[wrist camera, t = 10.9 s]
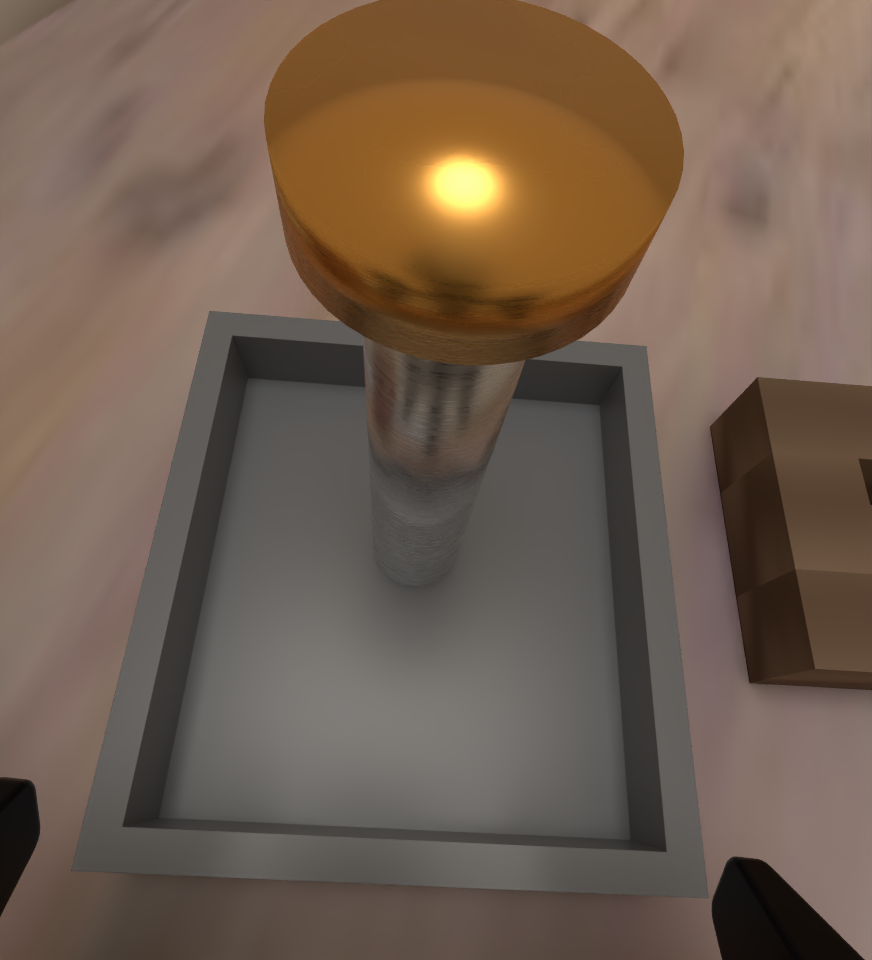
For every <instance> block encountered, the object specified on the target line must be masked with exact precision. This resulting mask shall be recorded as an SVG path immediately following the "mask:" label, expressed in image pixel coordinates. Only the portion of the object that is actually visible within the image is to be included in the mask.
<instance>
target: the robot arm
mask: <svg viewBox="0 0 872 960" xmlns="http://www.w3.org/2000/svg"><path fill="white" fill-rule="evenodd" d="M39 834H40V820H39V812H38V804H37V797H36V789H35V785H34V784H33V783H32V782H31V781H30V780H26V779H17V778H8V777H1V778H0V916H1V914H2V912H3V910H4V908H5V906H6V904H7V902H8V900H9V898H10V896H11V894H12V892H13V891H14V889H15V887H16V885H17V883H18V881H19V879H20V877H21V875H22V873H23V871H24V869H25V867H26V865H27V863H28V861H29V859H30V857H31V855H32V853H33V851H34V849H35V847H36V844H37V842H38V838H39ZM712 918H713V923H714V927H715V932H716V936H717V940H718V944H719V948H720V953H721V957H722V960H864V959H863V958H862V957H861V956H860V955H859V954H858V953H857V952H856V951H855V950H854V949H853V948H852V947H851V946H850V945H849V944H848V943H847V942H846V941H845V940H844V939H843V938H842V937H841V936H840V935H839V934H838V933H837V932H836V931H835V930H834V929H833V928H832V927H831V926H830V925H829V924H828V923H827V922H826V921H825V920H824V919H823V918H822V917H821V916H820V915H819V914H818V913H817V912H816V911H815V910H814V909H813V908H812V907H811V906H810V905H809V904H808V903H807V902H806V901H805V900H804V899H803V898H802V897H801V896H800V895H799V894H798V893H797V892H796V891H795V890H794V889H793V888H792V887H791V886H790V885H789V884H788V883H787V882H786V881H785V880H784V879H783V878H782V877H781V876H780V875H779V874H778V873H777V872H776V871H775V870H774V869H773V868H772V867H771V866H769V865H768V864H767V863H766V862H764V861H762V860H759V859H754V858H744V857H732V858H730V859H729V860H728V861H727V863H726V865H725V868H724V871H723V873H722V876H721V878H720V881H719V884H718V886H717V889H716V891H715V894H714V897H713V900H712Z"/></svg>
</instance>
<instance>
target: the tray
mask: <svg viewBox="0 0 872 960" xmlns="http://www.w3.org/2000/svg"><path fill="white" fill-rule="evenodd" d="M71 871H87V872H110V873H133V874H157V875H180V876H203V877H226V878H250V879H273V880H296V881H319V882H343V883H366V884H389V885H412V886H436V887H459V888H482V889H505V890H529V891H552V892H575V893H598V894H622V895H645V896H668V897H691V898H709V897H708V888H707V879H706V870H705V862H704V853H703V844H702V835H701V826H700V817H699V808H698V800H697V791H696V782H695V773H694V764H693V755H692V746H691V737H690V729H689V720H688V711H687V702H686V693H685V684H684V675H683V667H682V658H681V649H680V640H679V631H678V622H677V613H676V604H675V596H674V587H673V578H672V569H671V560H670V551H669V542H668V534H667V525H666V516H665V507H664V498H663V489H662V480H661V471H660V463H659V454H658V445H657V436H656V427H655V418H654V409H653V401H652V392H651V383H650V374H649V365H648V356H647V347H646V346H635V345H623V344H611V343H599V342H586V341H574V342H573V343H571V344H569V345H567V346H565V347H563V348H561V349H558V350H556V351H553V352H550V353H548V354H545V355H543V356H540V357H535V358H531V359H527V360H525V363H524V366H523V369H522V371H521V374H520V377H519V380H518V383H517V386H516V388H515V391H514V394H513V397H512V400H511V402H510V405H509V408H508V411H507V414H506V417H505V419H504V422H503V425H502V428H501V431H500V433H499V436H498V439H497V442H496V445H495V448H494V450H493V453H492V456H491V459H490V462H489V465H488V467H487V470H486V473H485V476H484V479H483V481H482V484H481V487H480V490H479V493H478V496H477V498H476V501H475V504H474V507H473V510H472V512H471V515H470V518H469V521H468V524H467V527H466V529H465V532H464V535H463V538H462V541H461V544H460V546H459V549H458V552H457V555H456V558H455V560H454V563H453V565H452V567H451V569H450V570H449V572H448V573H447V574H446V575H445V576H444V577H443V578H441V579H440V580H439V581H437V582H435V583H433V584H431V585H428V586H424V587H407V586H403V585H400V584H398V583H396V582H394V581H392V580H391V579H389V578H388V577H387V576H386V575H385V574H384V573H383V572H382V571H381V569H380V568H379V566H378V564H377V562H376V559H375V556H374V547H373V527H372V508H371V488H370V468H369V449H368V429H367V409H366V390H365V370H364V350H363V335H361V334H359V333H358V332H356V331H355V330H353V329H351V328H350V327H348V326H347V325H345V324H344V323H343V322H340V321H328V320H315V319H303V318H291V317H278V316H266V315H254V314H241V313H229V312H217V311H209V315H208V319H207V323H206V327H205V331H204V335H203V339H202V343H201V347H200V351H199V355H198V359H197V364H196V368H195V372H194V376H193V380H192V384H191V388H190V392H189V396H188V400H187V404H186V408H185V412H184V416H183V420H182V424H181V428H180V432H179V436H178V440H177V445H176V449H175V453H174V457H173V461H172V465H171V469H170V473H169V477H168V481H167V485H166V489H165V493H164V497H163V501H162V505H161V509H160V513H159V517H158V521H157V525H156V530H155V534H154V538H153V542H152V546H151V550H150V554H149V558H148V562H147V566H146V570H145V574H144V578H143V582H142V586H141V590H140V594H139V598H138V602H137V606H136V610H135V615H134V619H133V623H132V627H131V631H130V635H129V639H128V643H127V647H126V651H125V655H124V659H123V663H122V667H121V671H120V675H119V679H118V683H117V687H116V691H115V695H114V700H113V704H112V708H111V712H110V716H109V720H108V724H107V728H106V732H105V736H104V740H103V744H102V748H101V752H100V756H99V760H98V764H97V768H96V772H95V776H94V780H93V785H92V789H91V793H90V797H89V801H88V805H87V809H86V813H85V817H84V821H83V825H82V829H81V833H80V837H79V841H78V845H77V849H76V853H75V857H74V861H73V865H72V870H71Z"/></svg>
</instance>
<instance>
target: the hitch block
mask: <svg viewBox="0 0 872 960" xmlns="http://www.w3.org/2000/svg"><path fill="white" fill-rule="evenodd" d="M710 427H711V433H712V440H713V446H714V453H715V459H716V466H717V472H718V479H719V485H720V492H721V498H722V505H723V511H724V518H725V524H726V531H727V537H728V544H729V550H730V556H731V563H732V569H733V576H734V582H735V589H736V595H737V602H738V608H739V615H740V621H741V628H742V634H743V641H744V647H745V654H746V660H747V667H748V673H749V679H750V683H762V684H779V685H796V686H813V687H830V688H848V689H865V690H872V509H871V505H870V504H872V386H861V385H848V384H836V383H823V382H811V381H798V380H786V379H773V378H761V377H757V378H756V379H755V380H754V382H753V383H752V384H751V385H750V386H749V387H748V388H747V389H746V390H745V391H744V392H743V393H742V394H741V395H740V396H739V397H738V398H737V399H736V400H735V401H734V402H733V403H732V404H731V405H730V406H729V408H728V409H727V410H726V411H725V412H724V413H723V414H722V415H721V416H720V417H719V418H718V419H717V420H716V421H715V422H714V423H713V424H712V425H711V426H710Z"/></svg>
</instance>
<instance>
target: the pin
mask: <svg viewBox="0 0 872 960" xmlns="http://www.w3.org/2000/svg"><path fill="white" fill-rule="evenodd" d="M264 125H265V133H266V141H267V146H268V152H269V157H270V162H271V167H272V172H273V178H274V183H275V188H276V193H277V199H278V204H279V209H280V214H281V220H282V225H283V230H284V235H285V241H286V244H287V247H288V251H289V254H290V257H291V260H292V262H293V264H294V266H295V268H296V270H297V272H298V274H299V276H300V278H301V279H302V280H303V282H304V283H305V285H306V286H307V288H308V289H309V290H310V292H311V293H312V295H313V296H314V297H315V298H316V299H317V300H318V301H319V302H320V303H321V304H322V305H323V306H324V307H325V308H326V309H327V310H328V311H329V312H330V313H331V314H333V315H334V316H335V317H336V318H338V319H339V320H340V321H341V322H343V323H344V324H345V325H347V326H348V327H350V328H351V329H353V330H355V331H356V332H358V333H359V334H361V335H363V350H364V370H365V390H366V409H367V429H368V449H369V468H370V488H371V508H372V527H373V547H374V556H375V559H376V562H377V564H378V566H379V568H380V569H381V571H382V572H383V573H384V574H385V575H386V576H387V577H388V578H389V579H391V580H392V581H394V582H396V583H398V584H400V585H403V586H407V587H424V586H428V585H431V584H433V583H435V582H437V581H439V580H440V579H441V578H443V577H444V576H445V575H446V574H447V573H448V572H449V570H450V569H451V567H452V565H453V563H454V560H455V558H456V555H457V552H458V549H459V546H460V544H461V541H462V538H463V535H464V532H465V529H466V527H467V524H468V521H469V518H470V515H471V512H472V510H473V507H474V504H475V501H476V498H477V496H478V493H479V490H480V487H481V484H482V481H483V479H484V476H485V473H486V470H487V467H488V465H489V462H490V459H491V456H492V453H493V450H494V448H495V445H496V442H497V439H498V436H499V433H500V431H501V428H502V425H503V422H504V419H505V417H506V414H507V411H508V408H509V405H510V402H511V400H512V397H513V394H514V391H515V388H516V386H517V383H518V380H519V377H520V374H521V371H522V369H523V366H524V363H525V360H527V359H531V358H535V357H540V356H543V355H545V354H548V353H550V352H553V351H556V350H558V349H561V348H563V347H565V346H567V345H569V344H571V343H573V342H574V341H576V340H578V339H580V338H582V337H583V336H585V335H586V334H587V333H589V332H590V331H591V330H593V329H594V328H595V327H597V326H598V325H599V324H600V323H601V322H602V321H603V320H604V319H605V318H606V317H607V316H608V315H609V314H610V313H611V312H612V311H613V310H614V308H615V307H616V306H617V304H618V303H619V301H620V300H621V299H622V297H623V296H624V294H625V292H626V290H627V288H628V286H629V284H630V282H631V280H632V278H633V276H634V274H635V273H636V271H637V269H638V267H639V265H640V263H641V261H642V259H643V257H644V255H645V253H646V251H647V249H648V247H649V245H650V244H651V242H652V240H653V238H654V236H655V234H656V232H657V230H658V228H659V226H660V224H661V222H662V220H663V218H664V216H665V214H666V213H667V211H668V209H669V207H670V205H671V203H672V200H673V198H674V196H675V194H676V192H677V190H678V187H679V183H680V179H681V175H682V171H683V158H684V149H683V142H682V134H681V130H680V127H679V124H678V121H677V118H676V115H675V113H674V111H673V109H672V107H671V105H670V103H669V101H668V99H667V97H666V96H665V94H664V93H663V91H662V90H661V88H660V87H659V85H658V84H657V83H656V81H655V80H654V79H653V78H652V77H651V75H650V74H649V73H648V72H647V71H646V70H645V69H644V68H643V67H642V65H641V64H639V63H638V62H637V61H636V60H635V59H634V58H633V57H631V56H630V55H629V54H628V53H627V52H626V51H625V50H623V49H622V48H620V47H619V46H618V45H616V44H615V43H614V42H612V41H611V40H609V39H608V38H606V37H605V36H603V35H601V34H600V33H598V32H596V31H595V30H593V29H591V28H589V27H588V26H586V25H584V24H581V23H579V22H577V21H575V20H573V19H571V18H569V17H567V16H564V15H561V14H559V13H556V12H553V11H551V10H548V9H546V8H542V7H539V6H535V5H532V4H529V3H525V2H522V1H517V0H380V1H376V2H373V3H370V4H366V5H363V6H360V7H357V8H355V9H352V10H350V11H348V12H345V13H343V14H340V15H338V16H337V17H335V18H333V19H331V20H329V21H328V22H326V23H324V24H322V25H320V26H319V27H318V28H316V29H315V30H314V31H312V32H311V33H310V34H308V35H307V36H306V37H304V38H303V39H302V40H301V41H300V42H299V43H298V44H297V45H296V46H295V47H294V48H293V49H292V50H291V51H290V52H289V54H288V55H287V56H286V58H285V59H284V60H283V62H282V63H281V64H280V66H279V67H278V69H277V71H276V73H275V75H274V77H273V79H272V81H271V83H270V87H269V91H268V94H267V98H266V101H265V114H264Z"/></svg>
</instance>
